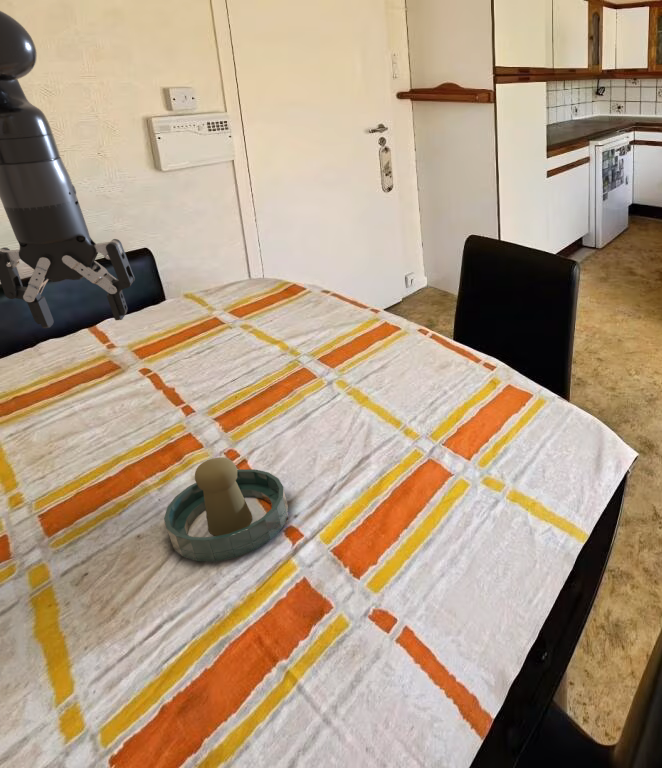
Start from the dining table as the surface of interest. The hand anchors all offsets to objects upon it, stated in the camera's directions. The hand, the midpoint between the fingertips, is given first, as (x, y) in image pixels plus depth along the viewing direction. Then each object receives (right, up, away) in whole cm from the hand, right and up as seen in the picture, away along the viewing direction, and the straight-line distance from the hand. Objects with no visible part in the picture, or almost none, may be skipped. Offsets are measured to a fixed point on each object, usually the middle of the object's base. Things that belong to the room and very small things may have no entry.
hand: (85, 322), depth 83 cm
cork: (+18, -29, +5) cm, 34 cm away
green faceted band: (+18, -29, +5) cm, 34 cm away
